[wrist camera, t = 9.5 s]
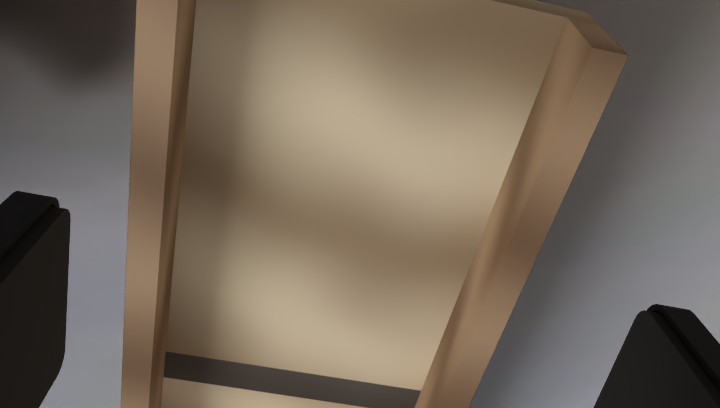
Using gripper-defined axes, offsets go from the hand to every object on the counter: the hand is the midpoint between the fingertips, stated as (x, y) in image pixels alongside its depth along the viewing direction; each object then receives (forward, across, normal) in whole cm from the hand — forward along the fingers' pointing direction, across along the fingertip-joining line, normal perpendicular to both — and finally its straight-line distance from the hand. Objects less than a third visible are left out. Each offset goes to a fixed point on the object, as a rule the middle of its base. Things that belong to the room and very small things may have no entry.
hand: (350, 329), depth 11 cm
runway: (+11, 0, +6) cm, 12 cm away
